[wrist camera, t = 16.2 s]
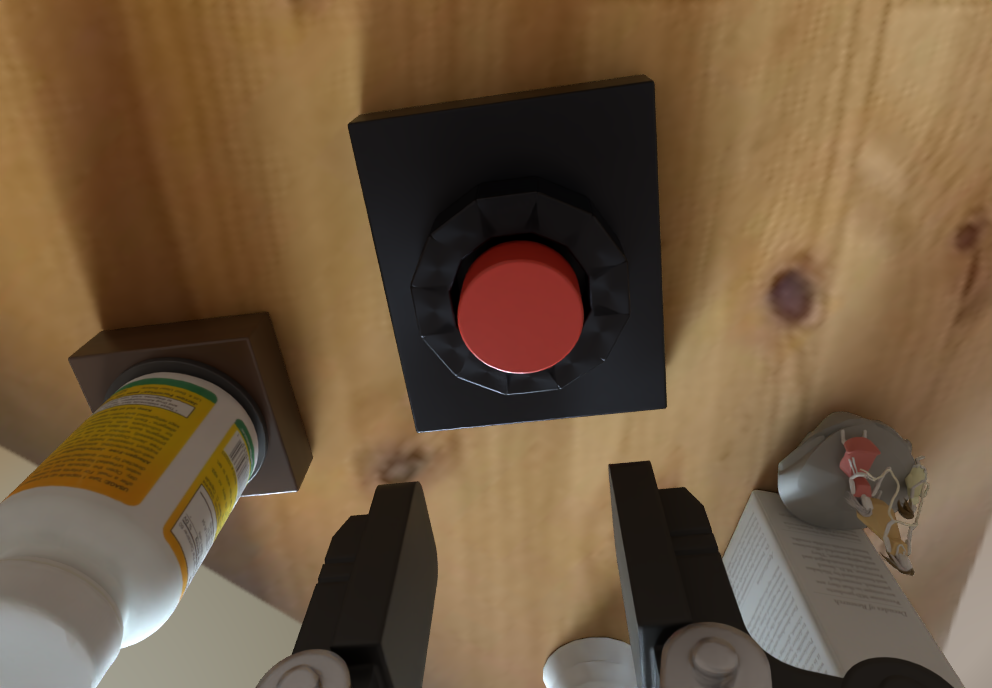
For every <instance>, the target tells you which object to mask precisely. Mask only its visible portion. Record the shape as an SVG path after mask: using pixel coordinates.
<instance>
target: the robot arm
mask: <svg viewBox="0 0 992 688" xmlns="http://www.w3.org/2000/svg"><path fill="white" fill-rule="evenodd" d="M609 481H610V493H611V505H612V516H613V528H614V539H615V548H616V556H617V563H618V570H619V576H620V582H621V588H622V594H623V601H624V607H625V613H626V619H627V625H628V632H629V638H630V644H631V650H632V656H633V663H634V669H635V675H636V681H637V687H638V688H954V687H953V686H952V685H951V684H949V683H948V682H947V681H946V680H944V679H943V678H942V677H941V676H939V675H938V674H936V673H934V672H933V671H931V670H929V669H927V668H925V667H923V666H921V665H919V664H916V663H913V662H911V661H907V660H903V659H899V658H892V657H875V658H869V659H866V660H863V661H860V662H858V663H857V664H855V665H853V666H852V667H851V668H850V669H849V670H848V671H847V673H846V674H845V676H844V678H841V677H837V676H832V675H827V674H822V673H818V672H813V671H808V670H804V669H801V668H797V667H794V666H791V665H789V664H786V663H784V662H782V661H780V660H778V659H776V658H775V657H773V656H772V655H770V654H769V653H767V652H766V651H765V650H764V649H763V648H761V647H760V645H759V644H758V643H757V642H756V641H755V640H754V639H753V638H752V637H751V635H750V634H749V632H748V631H747V629H746V626H745V624H744V621H743V619H742V616H741V613H740V610H739V607H738V604H737V601H736V598H735V595H734V592H733V590H732V587H731V584H730V581H729V578H728V575H727V572H726V569H725V566H724V563H723V561H722V558H721V555H720V552H719V551H718V546H717V543H716V540H715V537H714V534H713V533H712V529H711V526H710V523H709V520H708V517H707V514H706V511H705V508H704V506H703V505H702V504H701V503H700V502H699V501H698V500H697V499H696V498H695V497H694V496H693V495H692V494H691V493H690V492H689V491H688V490H687V489H686V488H685V487H680V488H669V489H658V488H657V484H656V480H655V477H654V473H653V469H652V465H651V462H650V461H640V462H629V463H618V464H609ZM437 578H438V561H437V551H436V545H435V541H434V536H433V532H432V528H431V523H430V519H429V515H428V510H427V506H426V502H425V497H424V493H423V489H422V486H421V484H420V482H418V481H417V482H406V483H395V484H384V485H378V486H377V488H376V490H375V494H374V497H373V500H372V504H371V507H370V511H369V514H367V515H355V516H350V517H349V519H348V520H347V521H346V522H345V523H344V524H343V525H342V527H341V528H340V529H339V530H338V531H337V532H336V534H335V535H334V536H333V537H332V540H331V543H330V546H329V549H328V552H327V554H326V557H325V564H323V566H322V569H321V572H320V575H319V578H318V584H316V586H315V589H314V592H313V595H312V598H311V601H310V603H309V606H308V609H307V612H306V615H305V618H304V621H303V624H302V626H301V629H300V632H299V635H298V638H297V641H296V644H295V647H294V649H293V652H292V655H291V656H288V657H286V658H285V659H283V660H282V661H280V662H278V663H277V664H276V665H274V666H273V667H272V668H271V669H270V670H269V671H268V672H267V673H266V674H265V675H264V676H263V677H262V679H261V680H260V681H259V683H258V685H257V686H256V688H422V682H423V675H424V669H425V662H426V655H427V648H428V641H429V634H430V627H431V621H432V614H433V607H434V600H435V593H436V586H437Z"/></svg>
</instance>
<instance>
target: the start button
mask: <svg viewBox="0 0 992 688" xmlns="http://www.w3.org/2000/svg"><path fill="white" fill-rule="evenodd" d="M457 319H458V327H459V330H460V334H461V336H462V339H463V341H464V342H465V344H466V346H467V347H468V348H469V350H470V351H471V352H472V353H473V354H474V355H475V356H476V357H477V358H478V359H479V360H481V361H482V362H483V363H485V364H487V365H488V366H490V367H492V368H495V369H497V370H500V371H503V372H508V373H516V374H526V373H533V372H538V371H541V370H544V369H547V368H549V367H551V366H553V365H555V364H556V363H558V362H559V361H561V360H562V359H563V358H564V357H565V356H566V355H567V354H569V353H570V351H571V350H572V349H573V348H574V346H575V344H576V343H577V341H578V339H579V337H580V334H581V331H582V328H583V321H584V310H583V304H582V299H581V293H580V288H579V282H578V279H577V276H576V274H575V272H574V270H573V268H572V267H571V265H570V264H569V262H568V261H567V260H566V259H565V258H564V257H563V256H562V255H561V254H560V253H558V252H557V251H555V250H554V249H552V248H550V247H548V246H546V245H544V244H541V243H538V242H533V241H527V240H515V241H508V242H504V243H501V244H498V245H496V246H493V247H491V248H489V249H488V250H486V251H485V252H483V253H482V254H481V255H480V256H479V257H478V258H477V259H476V260H475V261H474V262H473V263H472V265H471V266H470V268H469V269H468V271H467V273H466V275H465V278H464V281H463V286H462V291H461V295H460V300H459V305H458V314H457Z"/></svg>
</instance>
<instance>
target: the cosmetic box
mask: <svg viewBox="0 0 992 688" xmlns="http://www.w3.org/2000/svg"><path fill="white" fill-rule="evenodd" d="M722 561H723V563H724V566H725V569H726V572H727V575H728V578H729V581H730V584H731V587H732V590H733V592H734V595H735V598H736V601H737V604H738V607H739V610H740V613H741V616H742V619H743V621H744V624H745V626H746V629H747V631H748V632H749V634H750V635H751V637H752V638H753V639H754V640H755V641H756V642H757V643H758V644H759V645H760V647H761V648H763V649H764V650H765V651H766V652H767V653H769V654H770V655H772V656H773V657H775V658H776V659H778V660H780V661H782V662H784V663H786V664H789V665H791V666H794V667H797V668H801V669H804V670H808V671H813V672H818V673H822V674H827V675H832V676H837V677H841V678H844V676H845V674H846V673H847V671H848V670H849V669H850V668H851V667H852V666H853V665H855V664H857V663H858V662H860V661H863V660H866V659H869V658H875V657H892V658H899V659H903V660H907V661H911V662H913V663H916V664H919V665H921V666H923V667H925V668H927V669H929V670H931V671H933V672H934V673H936V674H938V675H939V676H941V677H942V678H943V679H944V680H946V681H947V682H948V683H949V684H951V685H952V686H953V687H954V688H965V687H964V685H963V684H962V682H961V681H960V679H959V677H958V676H957V674H956V673H955V671H954V670H953V668H952V667H951V665H950V664H949V662H948V661H947V659H946V658H945V656H944V654H943V653H942V651H941V650H940V648H939V647H938V645H937V644H936V642H935V640H934V639H933V637H932V636H931V634H930V633H929V631H928V629H927V628H926V626H925V625H924V623H923V622H922V620H921V618H920V617H919V615H918V614H917V612H916V611H915V609H914V608H913V606H912V605H911V603H910V601H909V600H908V598H907V597H906V595H905V594H904V592H903V591H902V589H901V588H900V586H899V585H898V583H897V581H896V580H895V578H894V577H893V575H892V574H891V572H890V571H889V569H888V568H887V566H886V564H885V563H884V561H883V560H882V558H881V557H880V555H879V554H878V552H877V550H876V549H875V547H874V546H873V544H872V543H871V541H870V540H869V538H868V537H867V535H866V534H865V532H864V530H863V529H854V530H832V529H825V528H821V527H817V526H813V525H811V524H808V523H806V522H804V521H802V520H800V519H799V518H797V517H796V516H794V515H793V514H792V513H791V512H790V511H789V510H788V509H787V508H786V506H785V505H784V503H783V501H782V499H781V497H780V494H777V493H772V492H767V491H761V490H753V491H752V493H751V496H750V498H749V500H748V502H747V505H746V507H745V509H744V511H743V514H742V516H741V518H740V520H739V523H738V525H737V527H736V529H735V532H734V534H733V536H732V538H731V541H730V543H729V545H728V547H727V549H726V552H725V554H724V556H723V558H722Z"/></svg>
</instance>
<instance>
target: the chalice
mask: <svg viewBox="0 0 992 688" xmlns="http://www.w3.org/2000/svg"><path fill="white" fill-rule="evenodd" d="M543 680H544V683H545V685H546V687H547V688H638V687H637V681H636V675H635V669H634V663H633V656H632V650H631V646H630V645H629V644H627V643H625V642H622V641H618V640H614V639H610V638H585V639H581V640H576V641H572V642H570V643H568V644H566V645H564V646H562V647H560V648H559V649H557V650H556V651H555V652H554V653H553V654H552V655H551V656H550V657H549V658H548V660H547V662H546V664H545V666H544V668H543Z"/></svg>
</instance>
